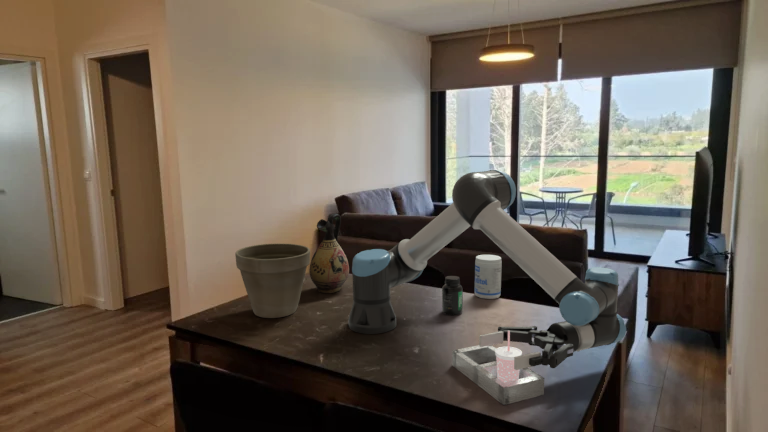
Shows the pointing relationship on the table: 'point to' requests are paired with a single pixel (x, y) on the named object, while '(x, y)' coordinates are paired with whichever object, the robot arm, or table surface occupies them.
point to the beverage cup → (507, 362)
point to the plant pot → (273, 277)
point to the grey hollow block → (487, 375)
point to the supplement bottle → (452, 296)
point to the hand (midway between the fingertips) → (496, 351)
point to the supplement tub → (488, 276)
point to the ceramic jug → (329, 259)
